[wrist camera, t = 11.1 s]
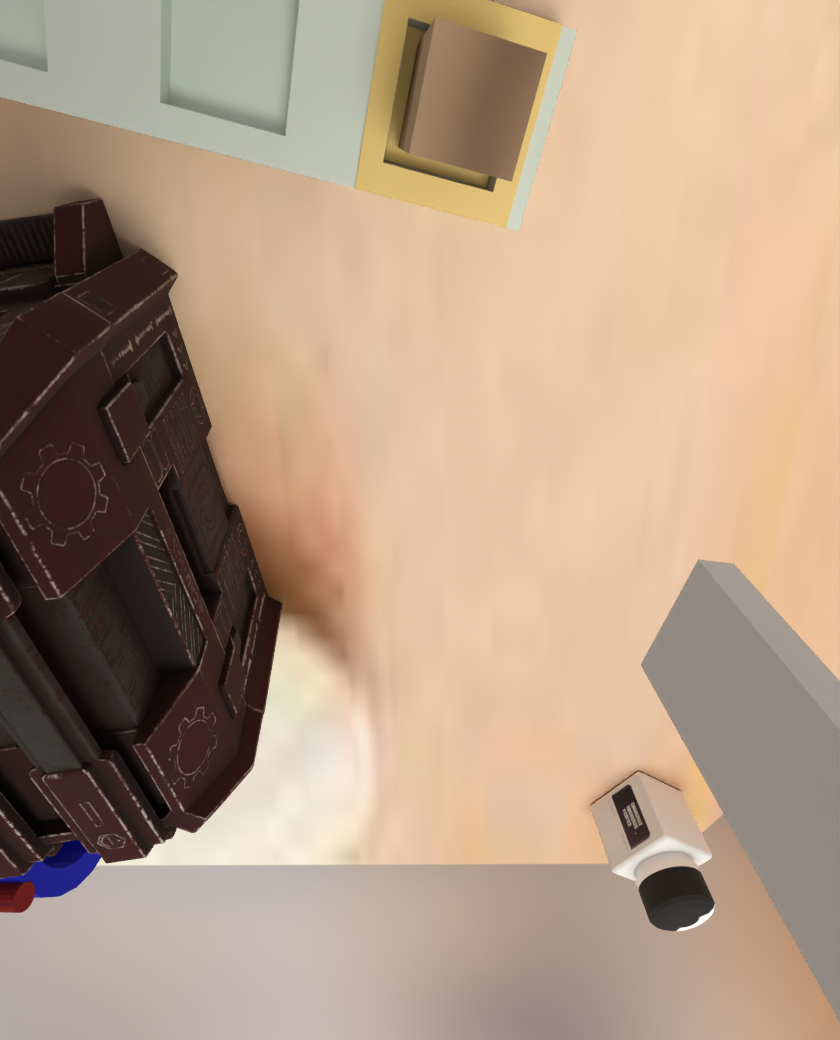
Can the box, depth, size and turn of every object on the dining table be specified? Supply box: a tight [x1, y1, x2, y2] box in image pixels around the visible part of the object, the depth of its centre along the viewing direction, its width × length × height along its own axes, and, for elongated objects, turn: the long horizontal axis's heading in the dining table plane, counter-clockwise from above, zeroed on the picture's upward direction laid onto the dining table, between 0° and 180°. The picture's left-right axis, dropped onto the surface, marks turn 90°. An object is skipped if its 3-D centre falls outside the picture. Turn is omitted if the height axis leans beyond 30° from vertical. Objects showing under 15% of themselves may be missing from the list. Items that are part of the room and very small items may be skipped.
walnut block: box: [398, 18, 547, 182], centre depth 28 cm, size 4×4×9 cm
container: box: [591, 772, 715, 931], centre depth 65 cm, size 8×8×13 cm
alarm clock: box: [0, 840, 101, 913], centre depth 52 cm, size 12×12×15 cm
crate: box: [0, 198, 282, 879], centre depth 35 cm, size 35×19×21 cm, turn 7°
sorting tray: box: [0, 0, 577, 231], centre depth 30 cm, size 32×9×3 cm, turn 77°
